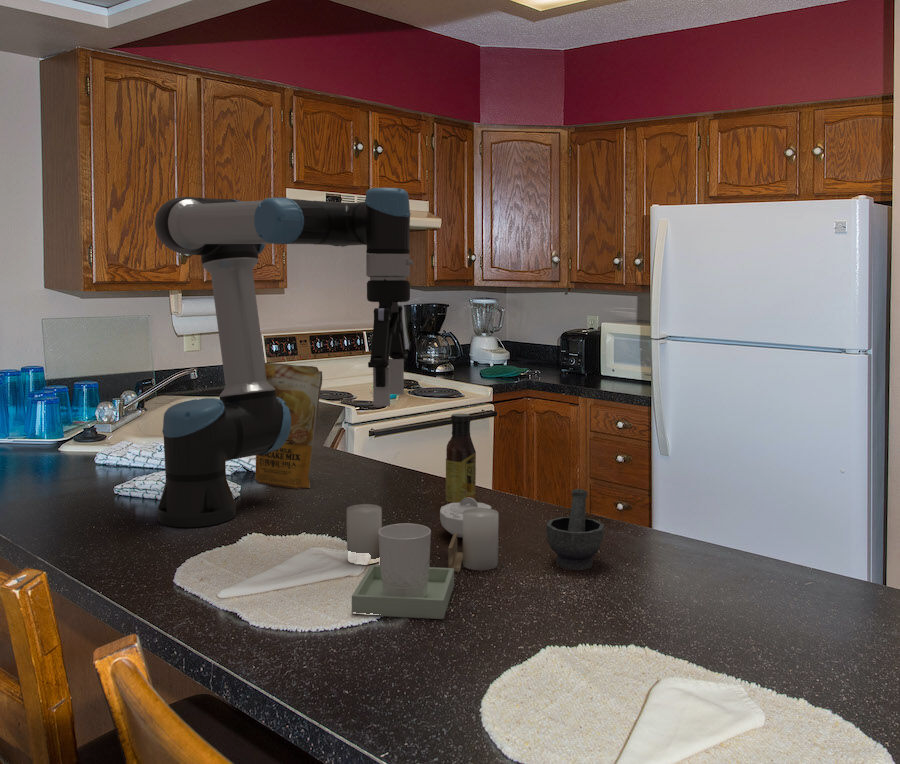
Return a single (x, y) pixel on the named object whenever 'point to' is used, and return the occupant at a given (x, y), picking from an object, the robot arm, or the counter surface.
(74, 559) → the counter surface
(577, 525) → the mortar and pestle
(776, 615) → the counter surface
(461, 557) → the rack
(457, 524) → the cell model
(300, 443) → the pancake mix bag
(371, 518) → the grey tapered cylinder
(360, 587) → the tray
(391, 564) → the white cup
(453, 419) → the sauce bottle
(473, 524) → the white pillar candle
